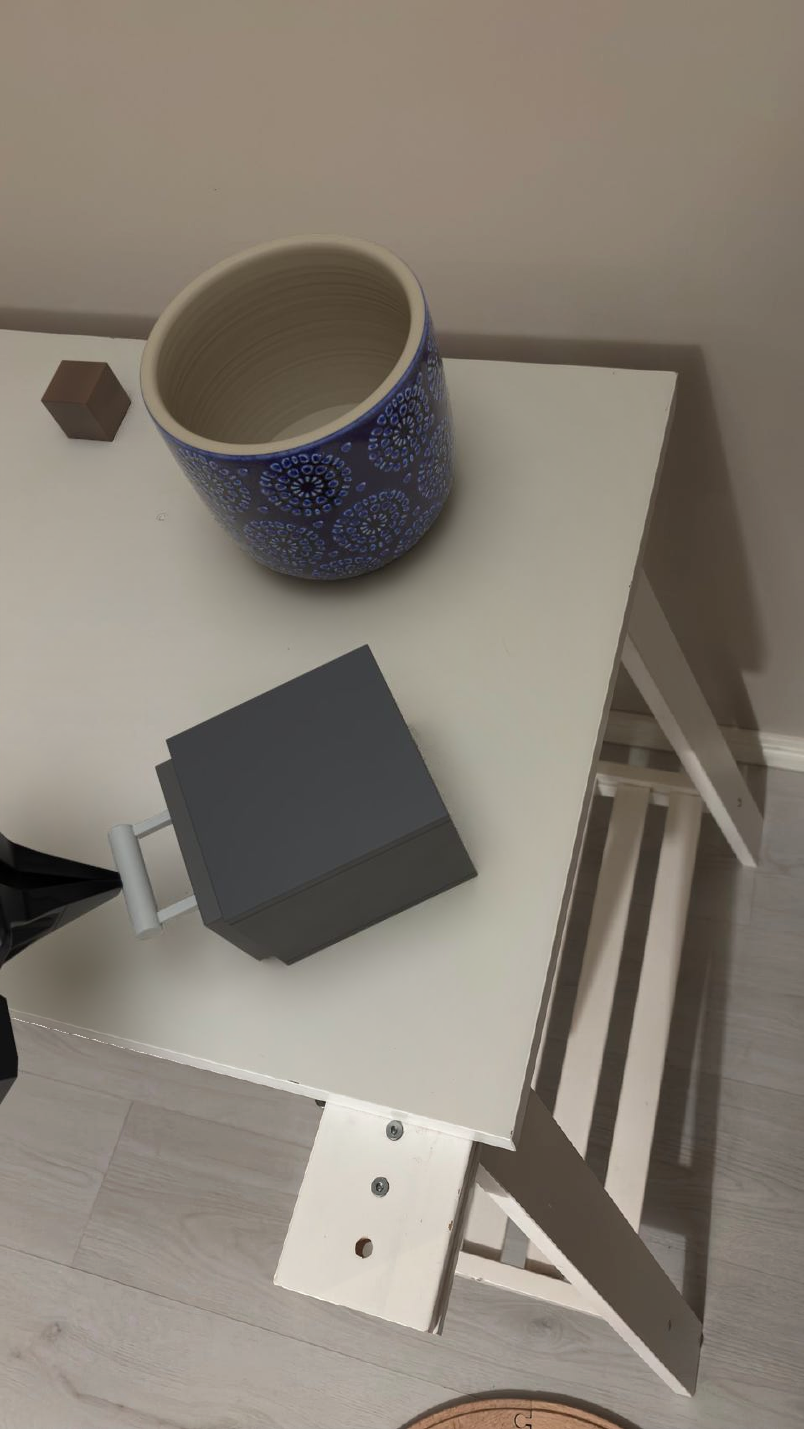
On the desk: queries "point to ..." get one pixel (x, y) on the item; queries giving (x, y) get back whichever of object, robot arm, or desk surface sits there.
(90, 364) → the walnut block
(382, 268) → the planter
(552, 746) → the desk surface
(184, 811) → the drawer
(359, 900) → the cabinet
